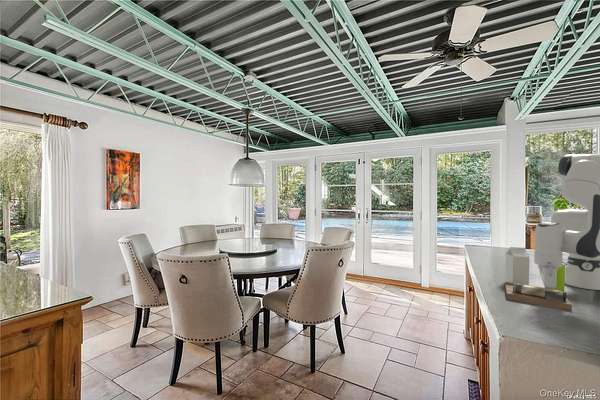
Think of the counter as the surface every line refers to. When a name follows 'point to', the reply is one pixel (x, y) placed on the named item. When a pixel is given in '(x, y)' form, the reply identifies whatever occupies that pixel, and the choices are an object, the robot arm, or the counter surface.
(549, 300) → the wooden tray
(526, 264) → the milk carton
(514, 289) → the folding leg
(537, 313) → the counter surface
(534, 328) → the counter surface
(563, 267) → the soap dispenser
